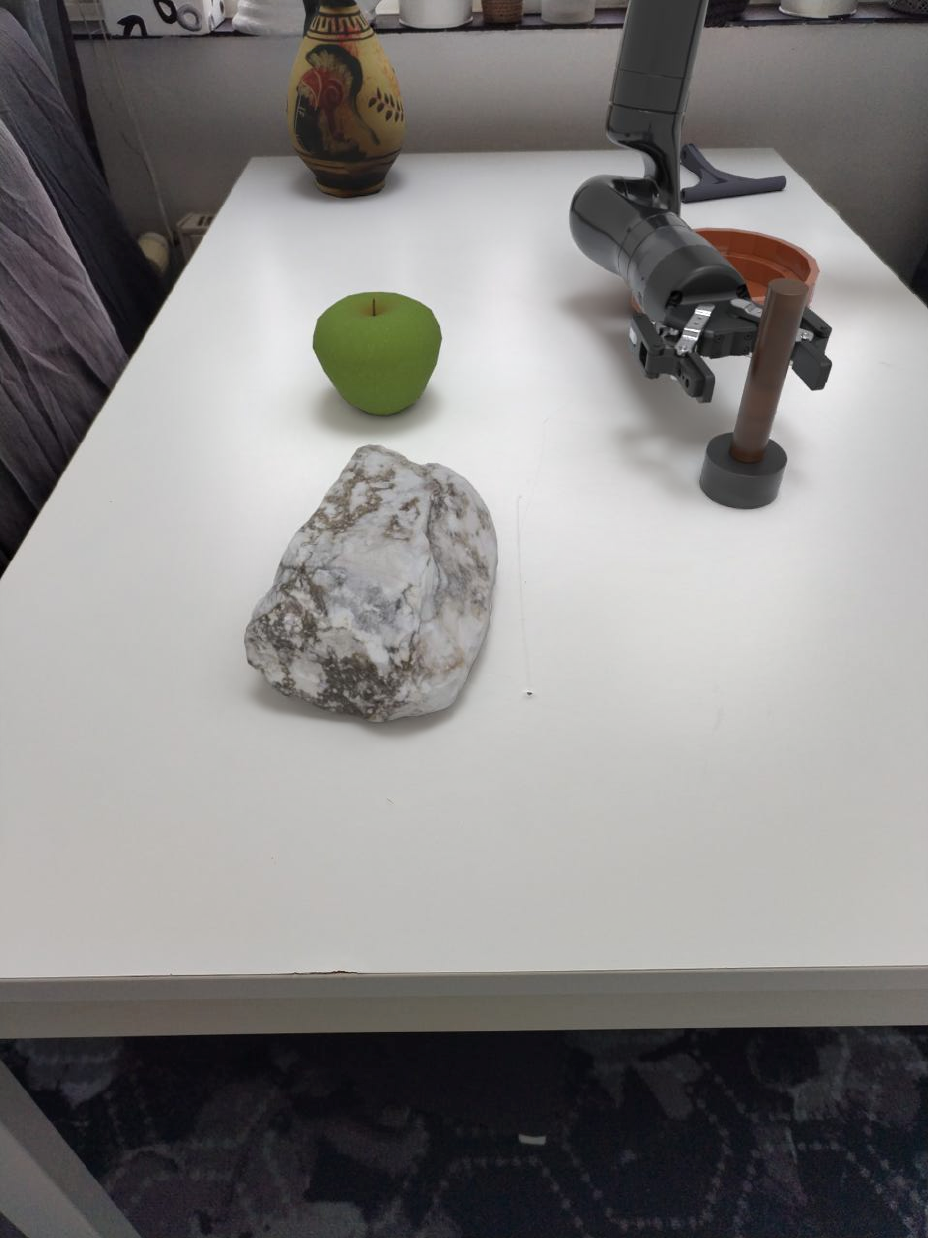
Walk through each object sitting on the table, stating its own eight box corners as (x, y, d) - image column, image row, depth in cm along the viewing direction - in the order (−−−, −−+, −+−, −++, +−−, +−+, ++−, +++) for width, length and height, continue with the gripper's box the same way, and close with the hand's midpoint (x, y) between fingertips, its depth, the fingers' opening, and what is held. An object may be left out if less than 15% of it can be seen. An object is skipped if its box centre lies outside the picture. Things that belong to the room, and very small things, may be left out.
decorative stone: (353, 491, 65) (358, 391, 57) (520, 550, 65) (550, 457, 56) (236, 703, 55) (222, 618, 46) (435, 776, 54) (457, 703, 45)
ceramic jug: (431, 176, 119) (419, -105, 98) (364, 213, 110) (335, -89, 89) (334, 157, 126) (303, -111, 105) (264, 190, 117) (214, -96, 95)
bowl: (760, 267, 96) (771, 221, 93) (836, 340, 84) (852, 290, 80) (609, 282, 94) (614, 235, 91) (664, 359, 82) (672, 309, 78)
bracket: (728, 156, 123) (732, 134, 121) (784, 190, 113) (789, 167, 111) (636, 168, 120) (638, 146, 118) (684, 205, 110) (688, 181, 108)
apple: (457, 382, 80) (454, 275, 73) (423, 444, 73) (416, 332, 65) (348, 368, 82) (335, 263, 75) (304, 427, 75) (285, 317, 68)
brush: (758, 459, 70) (810, 263, 59) (791, 503, 66) (854, 301, 55) (688, 468, 69) (727, 271, 58) (717, 513, 65) (765, 310, 54)
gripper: (607, 250, 69) (678, 346, 57) (775, 235, 70) (876, 325, 59) (598, 338, 74) (662, 442, 63) (755, 322, 76) (844, 420, 64)
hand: (766, 385), depth 61 cm, fingers open, 8 cm apart
